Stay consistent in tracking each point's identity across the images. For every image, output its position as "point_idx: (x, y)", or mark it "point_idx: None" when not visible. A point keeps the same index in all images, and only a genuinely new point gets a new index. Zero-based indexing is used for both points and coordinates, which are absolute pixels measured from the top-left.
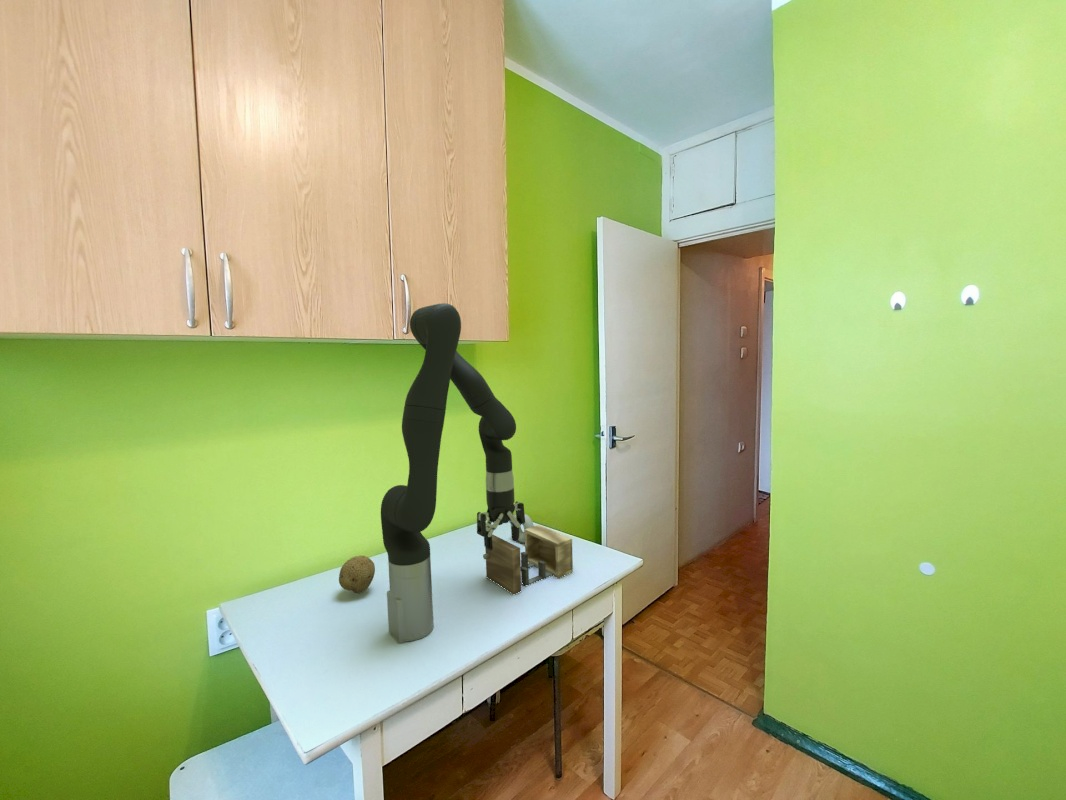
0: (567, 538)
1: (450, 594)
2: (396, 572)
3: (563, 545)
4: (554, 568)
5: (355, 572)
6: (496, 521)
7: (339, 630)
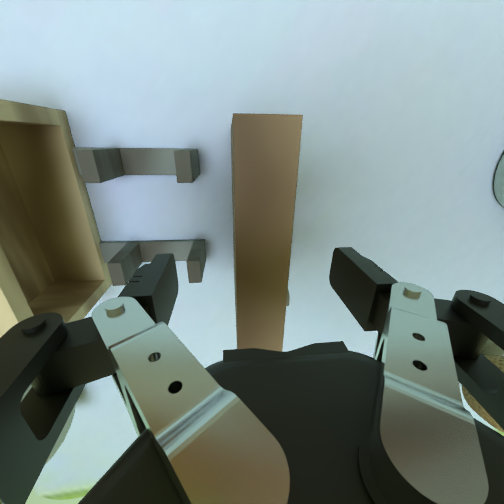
0: None
1: (374, 251)
2: None
3: None
4: (46, 166)
5: None
6: (442, 371)
7: None
